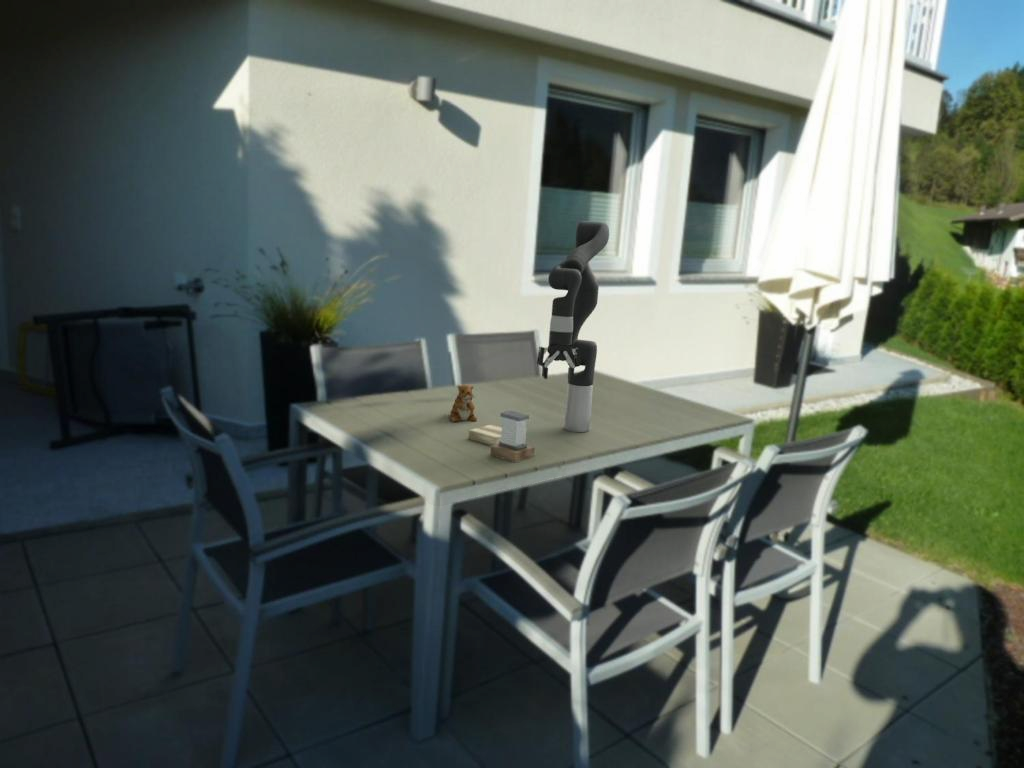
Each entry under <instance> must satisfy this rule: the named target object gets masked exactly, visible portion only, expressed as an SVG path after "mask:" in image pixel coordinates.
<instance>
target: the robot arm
mask: <svg viewBox="0 0 1024 768" xmlns="http://www.w3.org/2000/svg"><path fill="white" fill-rule="evenodd" d="M609 238H610V228H609V225H608V224H607V223H606V222H603V221H595V220H594V221H592V220H581V221H580V222H579V223H578V224H577V227H576V233H575V248H574V249H572V250H571V251H570V252H569V253H568V255H567V256H566V258H565V259H564V260H562V261H561V262H560V263H558V264H557V265H555V266H554V267H553V268H552V269H551V271H550V272H549V274H548V277H547V278H548V284H549V286H550V288H552V289H553V290H555V291H556V290H559V291H567V293H566V294H565V295H564V296H558V297H555V298H554V299H553V300H552V304H551V305H552V307H551V317H550V321H549V322H550V323H549V332H548V333H549V334H548V335H549V336H548V345H547V347H544V346H539V347H538V352H537V359H536V364H537V365H539V366H541V367H542V368H541V377H543V379H544V380H547V379H548V375H549V374H548V373H549V365H550V364H551V363H553V362H554V361H555V362H559V361H561V362H566V364H567V365H568V369H567V370H568V372H567V387H566V388H567V389H566V390H567V391H566V403H565V413H564V414H565V415H564V430H566V431H569V432H573V433H586V432H589V431H590V426H591V425H590V424H591V412H592V401H593V389H594V377H595V367H596V362H597V353H598V346H597V345H598V344H597V343H596V341H594V340H593V341H592V340H586V339H578V337H579V334H580V331H581V329H582V327H583V325H584V324H585V322H586V320H587V319H588V318H590V315H592V313H593V312H594V311H595V309H596V307H597V305H598V300H599V299H598V298H599V283H598V281H597V277H596V275H595V274H594V272H593V270H592V268H591V266H590V263H589V262H590V261H591V260H592V259H594V258H595V257H596V256H597V255H598V254H600V252H601V251H602V250H603V249H604V248H606V245H607V244H608V242H609ZM546 353H548V355H547V357H545V360H544V356H545V354H546ZM580 366H582V367H584V369H583V370H581V371H579V372H575V369H576V368H577V367H580Z"/></svg>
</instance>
